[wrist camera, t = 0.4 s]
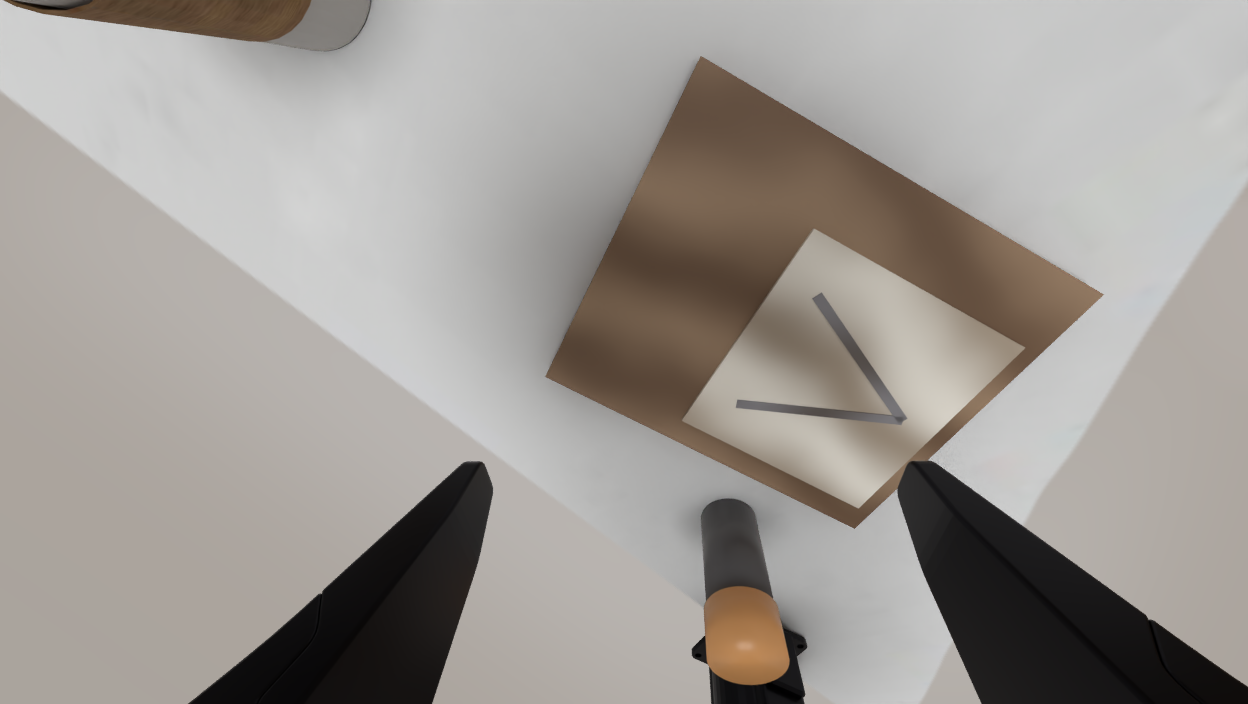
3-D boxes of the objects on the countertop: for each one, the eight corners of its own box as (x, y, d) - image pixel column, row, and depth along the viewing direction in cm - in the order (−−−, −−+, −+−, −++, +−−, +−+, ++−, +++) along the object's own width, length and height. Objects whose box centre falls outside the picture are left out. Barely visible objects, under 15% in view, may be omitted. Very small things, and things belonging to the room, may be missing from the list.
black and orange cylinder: (737, 549, 30) (758, 694, 22) (687, 525, 30) (691, 665, 22) (770, 513, 29) (806, 655, 21) (718, 488, 28) (735, 623, 20)
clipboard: (847, 514, 28) (856, 531, 27) (550, 367, 26) (544, 379, 25) (1081, 287, 21) (1108, 296, 20) (699, 61, 19) (701, 54, 18)
